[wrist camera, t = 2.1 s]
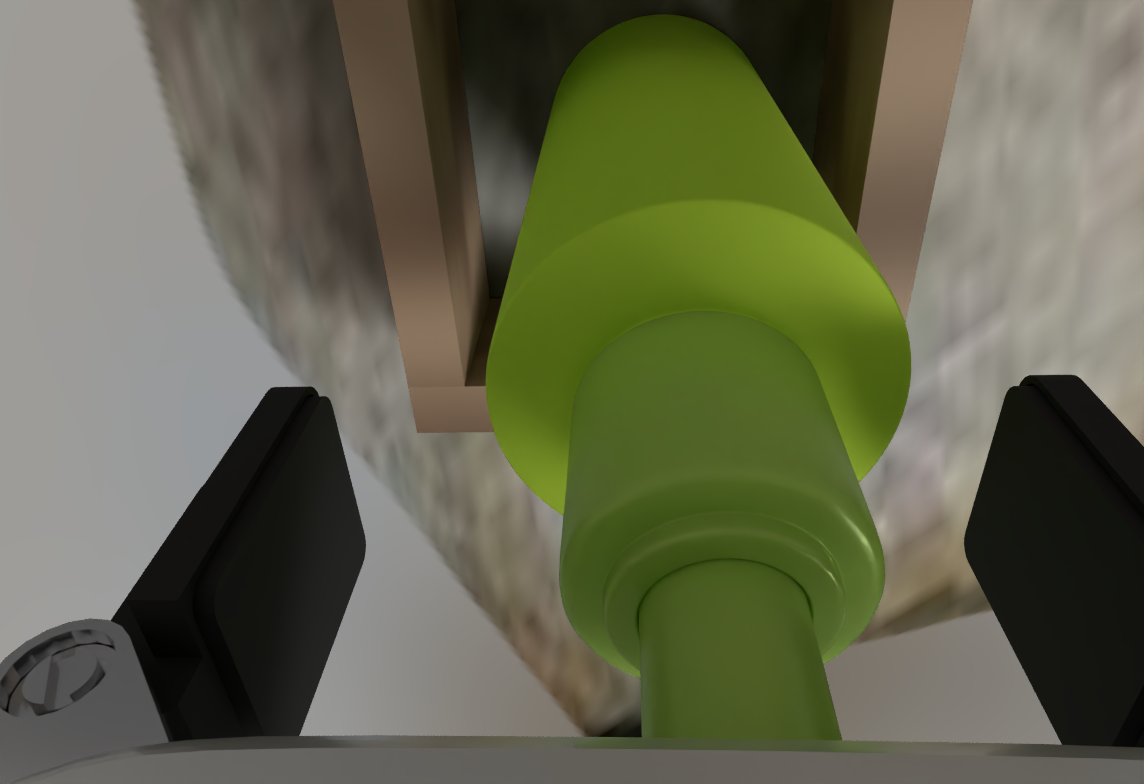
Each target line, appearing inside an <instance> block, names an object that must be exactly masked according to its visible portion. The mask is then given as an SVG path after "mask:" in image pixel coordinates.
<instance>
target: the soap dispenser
mask: <svg viewBox="0 0 1144 784" xmlns="http://www.w3.org/2000/svg"><path fill="white" fill-rule="evenodd" d="M910 379H911V351H910V342H909V337H908V332H907V328H906V324H905V321H904V318H903V315H902V313H901V310H900V308H899V305H898V303H897V301H896V299H895V297H894V295H893V293H892V291H891V290H890V288H889V286H888V284H887V283H886V281H885V280H884V278H883V276H882V275H881V273H880V272H879V270H878V268H877V267H876V265H875V263H874V262H873V260H872V259H871V257H870V255H869V254H868V252H867V250H866V249H865V247H864V246H863V244H862V242H861V241H860V239H859V238H858V236H857V234H856V233H855V231H854V229H853V228H852V226H851V225H850V223H849V221H848V220H847V218H846V217H845V215H844V213H843V212H842V210H841V208H840V207H839V205H838V204H837V202H836V200H835V199H834V197H833V195H832V194H831V192H830V191H829V189H828V187H827V186H826V184H825V183H824V181H823V179H822V178H821V176H820V174H819V173H818V171H817V170H816V168H815V166H814V165H813V163H812V161H811V160H810V158H809V157H808V155H807V153H806V152H805V150H804V149H803V147H802V145H801V144H800V142H799V140H798V139H797V137H796V136H795V134H794V132H793V131H792V129H791V127H790V126H789V124H788V123H787V121H786V119H785V118H784V116H783V115H782V113H781V111H780V110H779V108H778V106H777V105H776V103H775V102H774V100H773V98H772V97H771V95H770V94H769V92H768V90H767V89H766V87H765V85H764V84H763V82H762V81H761V79H760V77H759V76H758V74H757V72H756V71H755V69H754V68H753V66H752V64H751V63H750V61H749V60H748V58H747V57H746V55H745V54H744V53H743V52H742V50H741V49H740V48H739V47H738V46H737V45H736V44H735V43H734V42H733V41H732V40H731V39H729V38H728V37H727V36H726V35H724V34H723V33H722V32H720V31H719V30H717V29H715V28H714V27H712V26H710V25H708V24H706V23H703V22H701V21H698V20H695V19H692V18H688V17H684V16H678V15H665V14H662V15H648V16H642V17H638V18H634V19H631V20H628V21H625V22H622V23H620V24H618V25H615V26H613V27H612V28H610V29H608V30H606V31H605V32H603V33H602V34H600V35H599V36H597V37H596V38H595V39H593V40H592V41H591V42H590V43H589V44H588V45H586V46H585V47H584V48H583V49H582V50H581V52H580V53H579V54H578V55H577V56H576V57H575V59H574V60H573V61H572V63H571V64H570V66H569V67H568V69H567V71H566V72H565V74H564V76H563V78H562V80H561V82H560V84H559V87H558V89H557V92H556V95H555V98H554V102H553V106H552V110H551V114H550V118H549V121H548V125H547V129H546V133H545V137H544V141H543V144H542V148H541V152H540V156H539V160H538V164H537V168H536V171H535V175H534V179H533V183H532V187H531V191H530V195H529V198H528V202H527V206H526V210H525V214H524V218H523V222H522V225H521V229H520V233H519V237H518V241H517V245H516V248H515V252H514V256H513V260H512V264H511V268H510V272H509V275H508V279H507V283H506V287H505V291H504V295H503V299H502V302H501V306H500V310H499V314H498V318H497V322H496V326H495V329H494V333H493V337H492V341H491V345H490V349H489V354H488V359H487V367H486V398H487V406H488V412H489V416H490V420H491V424H492V427H493V430H494V433H495V436H496V438H497V441H498V443H499V445H500V447H501V449H502V451H503V453H504V455H505V457H506V458H507V460H508V462H509V463H510V465H511V466H512V468H513V469H514V470H515V472H516V473H517V474H518V476H519V477H520V478H521V479H522V481H523V482H524V483H525V484H526V485H527V486H528V487H529V488H530V489H531V490H532V491H533V492H534V493H535V494H536V495H537V496H538V497H539V498H540V499H541V500H543V501H544V502H545V503H546V504H548V505H549V506H550V507H551V508H553V509H554V510H556V511H557V512H559V513H560V514H562V515H563V528H562V540H561V552H560V569H559V584H560V592H561V598H562V603H563V606H564V610H565V612H566V615H567V617H568V619H569V621H570V623H571V625H572V627H573V628H574V630H575V631H576V633H577V634H578V635H579V637H580V638H581V639H582V640H583V641H584V642H585V643H586V645H588V646H589V647H590V648H591V649H592V650H593V651H594V652H595V653H596V654H597V655H598V656H600V657H601V658H602V659H604V660H605V661H606V662H608V663H609V664H611V665H612V666H614V667H616V668H617V669H619V670H621V671H623V672H625V673H627V674H629V675H631V676H634V677H636V678H639V679H641V714H642V738H703V739H774V740H842V737H841V733H840V729H839V725H838V721H837V717H836V713H835V709H834V705H833V701H832V697H831V693H830V689H829V685H828V681H827V677H826V673H825V669H824V664H825V663H827V662H828V661H830V660H831V659H833V658H834V657H836V656H837V655H839V654H840V653H841V652H842V651H844V650H845V649H846V648H847V647H848V646H849V645H851V644H852V643H853V642H854V641H855V640H856V639H857V637H858V636H859V635H860V634H861V633H862V632H863V630H864V629H865V628H866V626H867V625H868V623H869V622H870V620H871V619H872V617H873V615H874V614H875V612H876V610H877V608H878V605H879V603H880V600H881V597H882V594H883V589H884V583H885V564H884V556H883V550H882V546H881V543H880V539H879V536H878V533H877V530H876V527H875V524H874V522H873V519H872V517H871V514H870V511H869V509H868V506H867V503H866V501H865V498H864V495H863V493H862V490H861V487H860V485H859V482H860V481H861V480H862V479H863V478H864V477H865V475H866V474H867V473H868V472H869V471H870V470H871V469H872V467H873V466H874V465H875V464H876V462H877V461H878V460H879V458H880V457H881V456H882V454H883V453H884V451H885V450H886V448H887V446H888V445H889V443H890V441H891V439H892V438H893V436H894V434H895V432H896V430H897V427H898V425H899V423H900V420H901V418H902V415H903V412H904V409H905V405H906V402H907V398H908V393H909V387H910Z"/></svg>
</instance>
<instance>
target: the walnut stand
mask: <svg viewBox="0 0 1144 784" xmlns="http://www.w3.org/2000/svg"><path fill="white" fill-rule="evenodd" d="M972 4H973V0H832V5H831V13H830V21H829V29H828V38H827V46H826V54H825V63H824V71H823V79H822V87H821V96H820V104H819V112H818V120H817V129H816V137H815V145H814V154H813V162H812V163H813V165H814V166H815V168H816V170H817V171H818V173H819V174H820V176H821V178H822V179H823V181H824V183H825V184H826V186H827V187H828V189H829V191H830V192H831V194H832V195H833V197H834V199H835V200H836V202H837V204H838V205H839V207H840V208H841V210H842V212H843V213H844V215H845V217H846V218H847V220H848V221H849V223H850V225H851V226H852V228H853V229H854V231H855V233H856V234H857V236H858V238H859V239H860V241H861V242H862V244H863V246H864V247H865V249H866V250H867V252H868V254H869V255H870V257H871V259H872V260H873V262H874V263H875V265H876V267H877V268H878V270H879V272H880V273H881V275H882V276H883V278H884V280H885V281H886V283H887V284H888V286H889V288H890V290H891V291H892V293H893V295H894V297H895V299H896V301H897V303H898V305H899V308H900V310H901V313H902V315H903V318H904V321H905V322H906V317H907V312H908V308H909V303H910V298H911V293H912V289H913V284H914V279H915V274H916V270H917V265H918V260H919V255H920V251H921V246H922V241H923V236H924V232H925V227H926V222H927V217H928V213H929V208H930V203H931V198H932V194H933V189H934V184H935V179H936V175H937V170H938V165H939V160H940V156H941V151H942V146H943V141H944V137H945V132H946V127H947V122H948V118H949V113H950V108H951V103H952V99H953V94H954V89H955V84H956V80H957V75H958V70H959V65H960V61H961V56H962V51H963V46H964V42H965V37H966V32H967V27H968V23H969V18H970V13H971V8H972ZM333 5H334V10H335V16H336V21H337V26H338V31H339V36H340V41H341V46H342V51H343V56H344V61H345V66H346V72H347V77H348V82H349V87H350V92H351V97H352V102H353V107H354V112H355V117H356V123H357V128H358V133H359V138H360V143H361V148H362V153H363V158H364V163H365V168H366V174H367V179H368V184H369V189H370V194H371V199H372V204H373V209H374V214H375V219H376V224H377V230H378V235H379V240H380V245H381V250H382V255H383V260H384V265H385V270H386V275H387V281H388V286H389V291H390V296H391V301H392V306H393V311H394V316H395V321H396V326H397V332H398V337H399V342H400V347H401V352H402V357H403V362H404V367H405V372H406V377H407V383H408V388H409V393H410V398H411V403H412V408H413V413H414V418H415V423H416V428H417V433H440V432H494V430H493V427H492V424H491V420H490V416H489V412H488V406H487V398H486V367H487V359H488V354H489V349H490V345H491V341H492V337H493V333H494V329H495V326H496V322H497V318H498V314H499V310H500V306H501V302H502V299H503V298H490V295H489V286H488V278H487V270H486V261H485V253H484V244H483V236H482V227H481V219H480V211H479V202H478V194H477V185H476V177H475V168H474V160H473V152H472V143H471V135H470V126H469V118H468V110H467V101H466V93H465V84H464V76H463V67H462V59H461V51H460V42H459V34H458V25H457V17H456V8H455V0H333Z"/></svg>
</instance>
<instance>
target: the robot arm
mask: <svg viewBox="0 0 1144 784" xmlns="http://www.w3.org/2000/svg"><path fill="white" fill-rule="evenodd" d="M964 547H965V553H966V557H967V560H968V562H969V564H970V566H971V568H972V570H973V572H974V574H975V576H976V578H977V580H978V582H979V584H980V586H981V588H982V590H983V592H984V594H985V595H986V597H987V599H988V601H989V603H990V605H991V607H992V609H993V611H994V613H995V615H996V617H997V619H998V621H999V623H1000V624H1001V627H1002V628H1003V631H1004V632H1005V634H1006V636H1007V638H1008V640H1009V642H1010V644H1011V646H1012V648H1013V650H1014V652H1015V654H1016V656H1017V658H1018V660H1019V662H1020V663H1021V665H1022V668H1023V669H1024V671H1025V673H1026V675H1027V677H1028V679H1029V681H1030V683H1031V685H1032V687H1033V689H1034V691H1035V692H1036V694H1037V697H1038V699H1039V700H1040V702H1041V705H1042V706H1043V708H1044V710H1045V712H1046V714H1047V716H1048V718H1049V720H1050V722H1051V724H1052V726H1053V728H1054V730H1055V732H1056V734H1057V736H1058V738H1059V740H1060V741H1061V743H1062V745H1050V744H1003V743H1001V744H1000V743H950V742H949V743H948V742H893V741H842V740H774V739H703V738H622V737H517V736H516V737H515V736H386V735H385V736H383V735H373V736H299V735H300V733H301V730H302V727H303V724H304V722H305V719H306V716H307V713H308V711H309V708H310V705H311V703H312V700H313V697H314V695H315V692H316V689H317V686H318V684H319V681H320V678H321V676H322V673H323V670H324V668H325V665H326V662H327V659H328V657H329V654H330V651H331V648H332V646H333V643H334V640H335V638H336V635H337V632H338V630H339V627H340V624H341V621H342V619H343V616H344V613H345V611H346V608H347V605H348V602H349V600H350V597H351V594H352V592H353V589H354V586H355V583H356V581H357V578H358V575H359V573H360V570H361V567H362V565H363V561H364V557H365V549H366V540H365V535H364V530H363V526H362V522H361V518H360V515H359V510H358V506H357V503H356V498H355V495H354V491H353V487H352V483H351V479H350V475H349V471H348V467H347V463H346V459H345V455H344V451H343V447H342V443H341V439H340V435H339V431H338V427H337V423H336V419H335V415H334V411H333V407H332V404H331V401H330V400H329V398H328V397H326V396H321V397H319V395H318V392H317V391H316V390H315V388H313V387H274V388H271V389H270V390H268V392H267V393H266V394H265V396H264V397H263V399H262V400H261V402H260V403H259V405H258V406H257V408H256V409H255V411H254V412H253V414H252V415H251V416H250V418H249V419H248V421H247V423H246V424H245V425H244V427H243V428H242V430H241V431H240V433H239V434H238V436H237V437H236V439H235V440H234V442H233V443H232V445H231V446H230V447H229V449H228V450H227V452H226V453H225V455H224V456H223V458H222V459H221V461H220V462H219V464H218V465H217V467H216V468H215V470H214V471H213V472H212V474H211V475H210V477H209V479H208V480H207V481H206V483H205V484H204V485H203V486H202V487H201V489H200V490H199V491H198V493H197V494H196V496H195V497H194V499H193V500H192V502H191V503H190V505H189V506H188V508H187V509H186V511H185V512H184V513H183V515H182V517H181V518H180V519H179V521H178V522H177V524H176V525H175V527H174V528H173V530H172V531H171V533H170V534H169V535H168V537H167V539H166V540H165V541H164V543H163V544H162V546H161V547H160V549H159V550H158V552H157V553H156V555H155V556H154V558H153V559H152V561H151V562H150V564H149V565H148V566H147V568H146V569H145V571H144V572H143V574H142V575H141V577H140V578H139V580H138V581H137V583H136V584H135V586H134V587H133V588H132V590H131V592H130V593H129V594H128V596H127V597H126V599H125V600H124V602H123V603H122V605H121V606H120V608H119V609H118V611H117V612H116V613H115V615H114V616H113V618H112V619H111V621H109V620H102V619H101V620H100V619H85V620H79V621H73V622H68V623H65V624H63V625H60V626H57V627H55V628H52V629H49V630H46V631H45V632H43V633H41V634H39V635H37V636H36V637H34V638H32V639H30V640H28V641H26V642H25V643H24V644H22V645H21V646H20V647H19V648H17V649H16V650H15V651H13V652H12V653H11V654H10V655H8V656H7V657H6V658H5V659H4V660H3V661H2V662H1V664H0V784H1144V447H1143V445H1142V444H1141V443H1140V442H1139V441H1138V440H1137V439H1136V438H1135V437H1134V436H1133V435H1132V434H1131V433H1130V431H1129V430H1128V429H1127V428H1126V427H1125V426H1124V425H1123V424H1122V423H1121V422H1120V421H1119V420H1118V418H1117V417H1116V416H1115V415H1114V414H1113V413H1112V412H1111V411H1110V410H1109V409H1108V408H1107V407H1106V405H1105V404H1104V403H1103V402H1102V401H1101V400H1100V399H1099V398H1098V397H1097V396H1096V395H1095V394H1094V393H1093V391H1092V390H1091V389H1090V388H1089V387H1088V386H1087V385H1086V384H1085V383H1084V382H1083V381H1082V380H1081V379H1080V378H1079V377H1077V376H1076V375H1029V376H1027V377H1025V378H1024V379H1023V380H1022V381H1021V383H1020V385H1019V386H1013V387H1011V388H1010V389H1009V390H1008V391H1007V393H1006V396H1005V399H1004V402H1003V406H1002V409H1001V412H1000V416H999V419H998V423H997V426H996V430H995V433H994V436H993V440H992V443H991V447H990V450H989V453H988V457H987V460H986V464H985V467H984V471H983V474H982V477H981V481H980V484H979V488H978V491H977V494H976V498H975V501H974V505H973V508H972V512H971V515H970V518H969V522H968V525H967V529H966V532H965V537H964Z"/></svg>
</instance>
